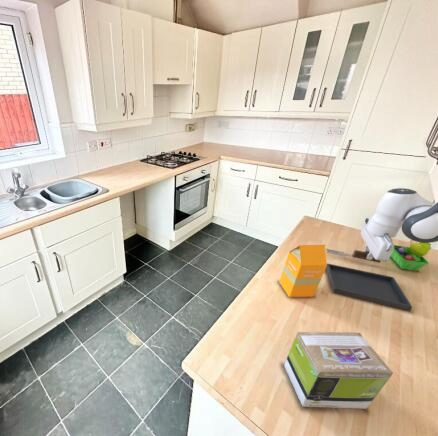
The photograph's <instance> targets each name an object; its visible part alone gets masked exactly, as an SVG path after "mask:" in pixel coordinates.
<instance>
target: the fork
mask: <svg viewBox="0 0 438 436" xmlns="http://www.w3.org/2000/svg"><path fill="white" fill-rule="evenodd" d="M325 251H326V254H330V255H331V254H332V255H337V256H341V257H346V256H347V257H352V258H355V259H360V260H365V261H369V262H375V263H381V262H382V261H379V260H376V259H375V258H374V257H373V259H372V260H369V259H367V258H366V255H367V254H369V253H368V252H364V250H363V251H362V250H357V249H354V251H353V252H352V254H350V253H345V251H340V250H335V249H329V248H325Z"/></svg>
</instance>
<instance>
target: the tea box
mask: <svg viewBox="0 0 438 436" xmlns="http://www.w3.org/2000/svg"><path fill="white" fill-rule="evenodd" d="M283 367H284V369H285V371H286V373H287V375H288V378H289V380H290V382H291V385H292V386H293V389H294V391H295V393H296V396H297V398H298V400H299V402H300V404H301V405H302V407H308V408H336V409H362V410H363V409H364V410H365V409H368V408H369V406H370V405H371V403H372V402H373V400H374V399H375V398H376V397H377V396H378V394H379V393H380V392H381V391H382V389H383V388H384V386H385V385H386V383H388V381H389V379H390V378H391V377H392V375H393V374H394V372H393V371H392V370H391V369H390V367H389V366H388V365H387V364H386V362H384V360H383V359H382V358H381V357H380V356H379V355H378V353H377V352H376V351H375V350H374V349H373V347H372V346H371V345H370V344H369V342H368V341H367V340H366V339H365V338H364V337H363V335H362V334H361V332H354V331H353V332H351V331H297V333H296V335H295V337H294V339H293V342H292V345H291V348H290V350H289V352H288V354H287V357H286V359H285V363H284V366H283Z"/></svg>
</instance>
